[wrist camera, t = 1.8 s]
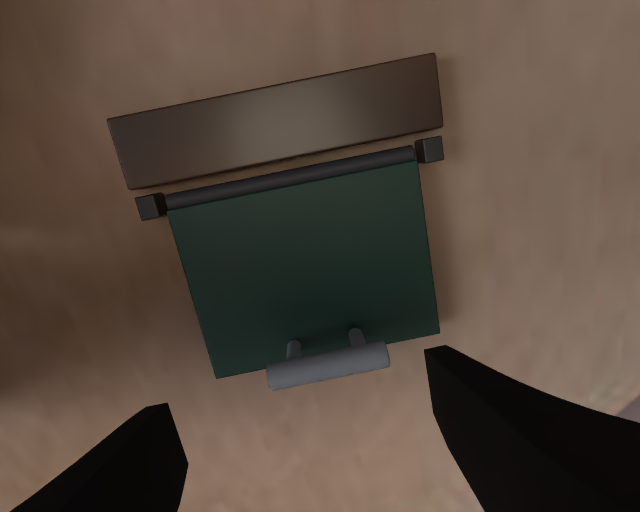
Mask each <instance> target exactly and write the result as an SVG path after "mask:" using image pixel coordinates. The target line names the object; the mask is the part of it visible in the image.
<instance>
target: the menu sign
mask: <svg viewBox="0 0 640 512" xmlns="http://www.w3.org/2000/svg"><path fill="white" fill-rule="evenodd" d="M165 200H166V205H167V207H168V209H169V210H168V211H167V215H168V218H169V221H170V225H171V228H172V232H173V235H174V238H175V242H176V245H177V249H178V252H179V255H180V259H181V262H182V266H183V269H184V272H185V276H186V279H187V283H188V286H189V289H190V293H191V296H192V299H193V303H194V306H195V310H196V313H197V316H198V320H199V323H200V327H201V330H202V333H203V337H204V340H205V344H206V347H207V350H208V354H209V357H210V361H211V364H212V367H213V371H214V374H215V377H216V379H218V378H223V377H228V376H233V375H238V374H243V373H248V372H253V371H258V370H262V369H266V372H267V380H268V385H269V388H270V390H271V391H275V390H280V389H285V388H290V387H294V386H299V385H304V384H309V383H314V382H319V381H324V380H329V379H334V378H339V377H343V376H348V375H353V374H358V373H363V372H368V371H373V370H378V369H383V368H388V367H390V359H389V354H388V350H387V346H386V344H390V343H395V342H400V341H405V340H410V339H414V338H419V337H424V336H429V335H434V334H439V333H440V327H439V320H438V312H437V304H436V297H435V289H434V281H433V274H432V266H431V259H430V251H429V243H428V236H427V228H426V220H425V213H424V205H423V198H422V190H421V182H420V175H419V167H418V161H417V160H415V152H414V148H413V146H412V145H408V146H404V147H399V148H394V149H389V150H384V151H379V152H374V153H369V154H364V155H359V156H354V157H349V158H344V159H340V160H335V161H330V162H325V163H320V164H315V165H310V166H305V167H300V168H295V169H290V170H285V171H280V172H276V173H271V174H266V175H261V176H256V177H251V178H246V179H241V180H236V181H231V182H226V183H221V184H217V185H212V186H207V187H202V188H197V189H192V190H187V191H182V192H177V193H172V194H167V195H166V197H165Z"/></svg>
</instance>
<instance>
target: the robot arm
mask: <svg viewBox="0 0 640 512" xmlns="http://www.w3.org/2000/svg"><path fill="white" fill-rule="evenodd" d="M424 354H425V361H426V367H427V374H428V381H429V387H430V394H431V401H432V408H433V414H434V416H435V418H436V421H437V423H438V426H439V428H440V430H441V433H442V435H443V437H444V440H445V442H446V444H447V447H448V448H449V450H450V452H451V454H452V456H453V457H454V459H455V461H456V463H457V464H458V466H459V468H460V470H461V471H462V473H463V475H464V477H465V478H466V480H467V482H468V483H469V485H470V487H471V489H472V490H473V492H474V494H475V496H476V497H477V499H478V501H479V502H480V504H481V506H482V508H483V509H484V511H485V512H640V423H638V422H635V421H631V420H627V419H623V418H620V417H616V416H612V415H609V414H606V413H602V412H599V411H596V410H592V409H589V408H586V407H584V406H581V405H578V404H575V403H572V402H569V401H566V400H563V399H560V398H558V397H555V396H552V395H550V394H547V393H545V392H542V391H540V390H538V389H535V388H533V387H531V386H528V385H526V384H524V383H521V382H519V381H517V380H515V379H512V378H510V377H508V376H506V375H504V374H502V373H500V372H498V371H496V370H494V369H492V368H490V367H488V366H486V365H484V364H482V363H480V362H478V361H476V360H474V359H472V358H470V357H468V356H467V355H465V354H463V353H461V352H459V351H457V350H455V349H453V348H451V347H449V346H447V345H443V346H438V347H434V348H429V349H424ZM187 469H188V461H187V458H186V455H185V452H184V449H183V446H182V444H181V441H180V438H179V435H178V432H177V429H176V426H175V423H174V420H173V417H172V414H171V411H170V408H169V405H168V403H163V404H158V405H153V406H148V407H145V408H144V409H142V410H141V411H139V412H138V413H136V414H135V415H134V416H132V417H131V418H130V419H128V420H127V421H126V422H125V423H123V424H122V425H121V426H120V427H118V428H117V429H116V430H115V431H113V432H112V433H111V434H110V435H108V436H107V437H106V438H105V439H104V440H102V441H101V442H100V443H99V444H97V445H96V446H95V447H94V448H92V449H91V450H90V451H89V452H88V453H86V454H85V455H84V456H83V457H81V458H80V459H79V460H78V461H76V462H75V463H74V464H73V465H71V466H70V467H69V468H67V469H66V470H65V471H64V472H62V473H61V474H60V475H58V476H57V477H56V478H54V479H53V480H52V481H51V482H49V483H48V484H47V485H45V486H44V487H43V488H42V489H40V490H39V491H38V492H36V493H35V494H34V495H32V496H31V497H30V498H28V499H27V500H25V501H24V502H23V503H21V504H20V505H18V506H17V507H16V508H14V509H13V510H11V511H10V512H177V511H178V508H179V505H180V501H181V497H182V493H183V488H184V484H185V479H186V474H187Z"/></svg>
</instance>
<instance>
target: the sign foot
mask: <svg viewBox="0 0 640 512" xmlns="http://www.w3.org/2000/svg"><path fill="white" fill-rule="evenodd" d="M107 123H108V126H109V129H110V133H111V136H112V139H113V142H114V145H115V148H116V152H117V155H118V158H119V161H120V164H121V168H122V171H123V174H124V177H125V180H126V183H127V187H128V189H129V190H138V189H143V188H148V187H153V186H158V185H163V184H168V183H173V182H178V181H182V180H187V179H192V178H197V177H202V176H207V175H212V174H217V173H222V172H227V171H232V170H237V169H242V168H246V167H251V166H256V165H261V164H266V163H271V162H276V161H281V160H286V159H291V158H296V157H301V156H305V155H310V154H315V153H320V152H325V151H330V150H335V149H340V148H345V147H350V146H355V145H360V144H365V143H369V142H374V141H379V140H384V139H389V138H394V137H399V136H404V135H409V134H414V133H419V132H424V131H429V130H433V129H438V128H441V127H443V116H442V107H441V98H440V89H439V80H438V71H437V63H436V54H435V53H429V54H424V55H419V56H414V57H409V58H404V59H399V60H394V61H389V62H384V63H379V64H374V65H369V66H365V67H360V68H355V69H350V70H345V71H340V72H335V73H330V74H325V75H320V76H315V77H310V78H305V79H300V80H296V81H291V82H286V83H281V84H276V85H271V86H266V87H261V88H256V89H251V90H246V91H241V92H236V93H231V94H227V95H222V96H217V97H212V98H207V99H202V100H197V101H192V102H187V103H182V104H177V105H172V106H167V107H162V108H158V109H153V110H148V111H143V112H138V113H133V114H128V115H123V116H118V117H113V118H108V119H107ZM415 145H416V153H417V160H418V163H430V162H435V161H440V160H444V153H443V145H442V137H441V136H436V137H431V138H426V139H421V140H417V141H415ZM135 201H136V204H137V207H138V211H139V214H140V217H141V220H142V221H145V220H150V219H155V218H159V217H162V216H165V215H167V211H168V210H167V207H166V203H165V200H164V196H163V194H162V193H156V194H151V195H146V196H141V197H136V198H135Z"/></svg>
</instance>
